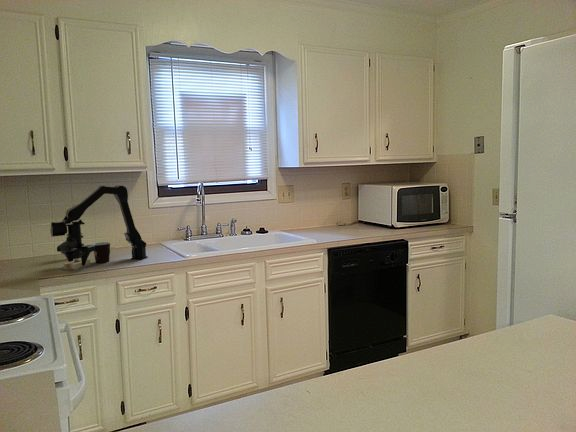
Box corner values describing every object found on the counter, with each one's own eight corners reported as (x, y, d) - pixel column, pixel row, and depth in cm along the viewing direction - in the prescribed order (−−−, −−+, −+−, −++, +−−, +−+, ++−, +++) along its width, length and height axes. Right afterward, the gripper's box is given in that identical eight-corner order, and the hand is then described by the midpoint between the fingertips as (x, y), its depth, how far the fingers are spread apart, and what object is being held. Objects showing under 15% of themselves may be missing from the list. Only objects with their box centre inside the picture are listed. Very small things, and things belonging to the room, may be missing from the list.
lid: (90, 264, 237) (89, 258, 237) (75, 269, 228) (75, 262, 228) (79, 264, 240) (78, 257, 239) (64, 268, 230) (63, 261, 230)
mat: (100, 264, 239) (100, 263, 239) (77, 271, 224) (77, 271, 224) (77, 263, 244) (77, 262, 244) (53, 270, 229) (53, 269, 229)
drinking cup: (69, 257, 260) (66, 221, 257) (84, 256, 262) (81, 220, 260) (68, 260, 253) (64, 223, 250) (83, 259, 255) (80, 222, 253)
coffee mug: (93, 262, 246) (91, 243, 245) (111, 260, 249) (109, 241, 248) (94, 266, 235) (92, 246, 234) (112, 264, 239) (111, 244, 238)
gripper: (46, 236, 227) (49, 268, 229) (78, 237, 221) (80, 270, 223) (64, 232, 238) (67, 263, 240) (94, 233, 232) (97, 264, 234)
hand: (77, 265), depth 234 cm, fingers closed on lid, 7 cm apart
